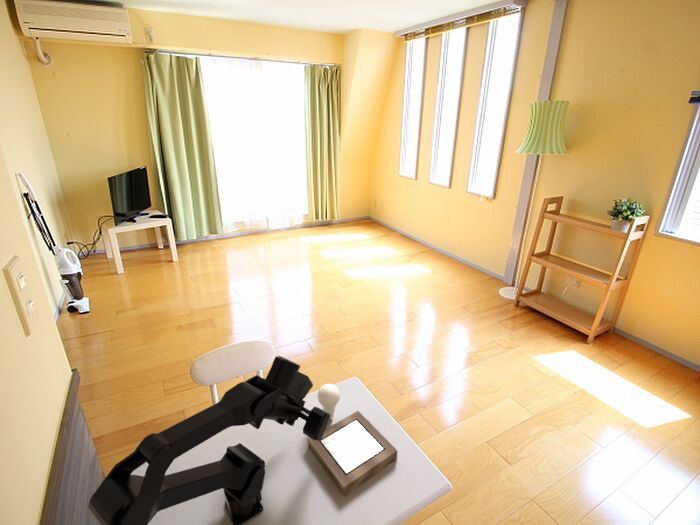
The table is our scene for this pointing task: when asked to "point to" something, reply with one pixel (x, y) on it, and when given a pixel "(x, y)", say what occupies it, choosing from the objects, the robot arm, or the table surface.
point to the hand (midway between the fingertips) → (310, 413)
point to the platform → (351, 447)
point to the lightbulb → (328, 398)
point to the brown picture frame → (364, 471)
